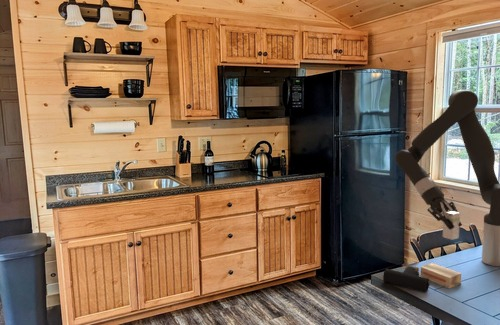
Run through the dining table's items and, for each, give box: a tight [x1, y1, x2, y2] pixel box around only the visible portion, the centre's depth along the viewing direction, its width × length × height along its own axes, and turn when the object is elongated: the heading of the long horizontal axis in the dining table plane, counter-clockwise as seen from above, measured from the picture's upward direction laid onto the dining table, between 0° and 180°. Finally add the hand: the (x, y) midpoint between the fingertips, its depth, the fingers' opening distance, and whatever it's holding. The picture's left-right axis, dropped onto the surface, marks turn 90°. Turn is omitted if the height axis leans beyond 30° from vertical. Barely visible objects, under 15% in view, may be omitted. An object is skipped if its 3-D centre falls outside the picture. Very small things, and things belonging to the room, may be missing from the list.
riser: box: [420, 262, 462, 289], centre depth 145 cm, size 7×12×4 cm, turn 29°
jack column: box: [442, 210, 461, 241], centre depth 146 cm, size 4×4×10 cm
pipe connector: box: [382, 265, 430, 293], centre depth 144 cm, size 12×5×15 cm
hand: (456, 227), depth 144 cm, fingers closed on jack column, 4 cm apart
